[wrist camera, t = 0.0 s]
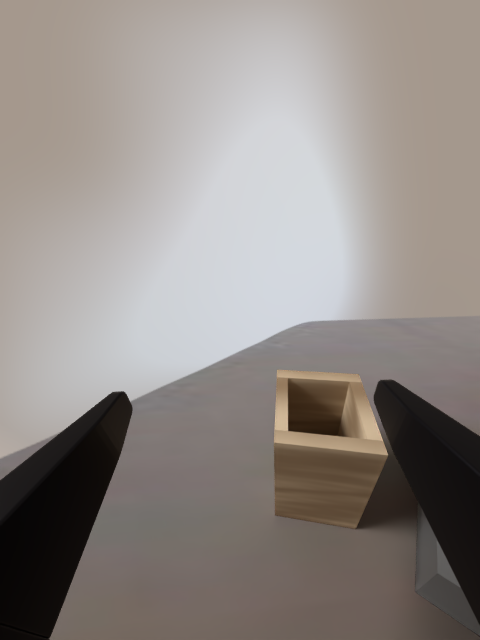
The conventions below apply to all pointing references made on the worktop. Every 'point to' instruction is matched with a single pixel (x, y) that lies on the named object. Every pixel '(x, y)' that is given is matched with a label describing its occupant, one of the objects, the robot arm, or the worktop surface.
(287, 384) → the tall pine crate
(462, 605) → the grey square tray
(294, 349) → the worktop surface
